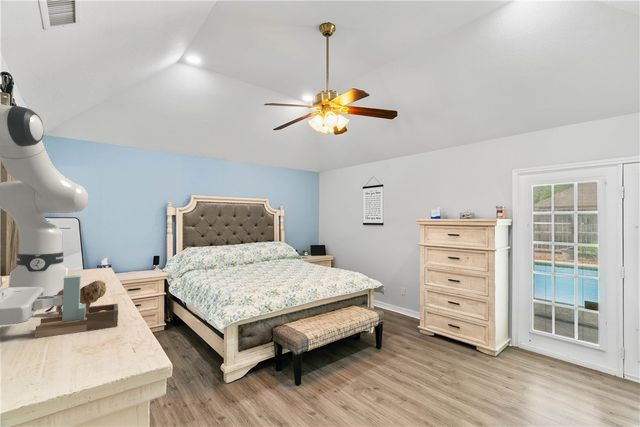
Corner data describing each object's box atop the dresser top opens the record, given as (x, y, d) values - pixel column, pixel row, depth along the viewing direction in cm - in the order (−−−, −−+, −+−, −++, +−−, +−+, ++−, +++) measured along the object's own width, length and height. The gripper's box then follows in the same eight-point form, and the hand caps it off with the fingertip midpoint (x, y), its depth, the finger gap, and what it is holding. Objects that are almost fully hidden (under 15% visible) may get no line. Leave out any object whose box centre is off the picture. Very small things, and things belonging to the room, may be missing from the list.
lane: (40, 328, 74) (41, 318, 74) (88, 322, 79) (88, 312, 79) (35, 338, 69) (35, 326, 69) (86, 330, 74) (87, 320, 74)
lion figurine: (108, 308, 92) (110, 278, 92) (100, 314, 86) (102, 282, 87) (50, 311, 88) (51, 279, 88) (38, 317, 83) (40, 283, 83)
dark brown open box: (88, 322, 80) (89, 306, 80) (117, 318, 83) (117, 303, 83) (86, 330, 74) (87, 314, 74) (117, 326, 77) (118, 310, 77)
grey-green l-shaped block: (64, 320, 76) (65, 275, 76) (85, 317, 78) (87, 274, 78) (61, 325, 72) (63, 278, 72) (84, 322, 74) (85, 277, 75)
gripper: (-39, 305, 58) (57, 296, 66) (-5, 284, 75) (68, 279, 82) (-40, 339, 58) (56, 326, 65) (-6, 310, 75) (67, 303, 82)
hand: (63, 300), depth 74 cm, fingers closed, pressing on grey-green l-shaped block
